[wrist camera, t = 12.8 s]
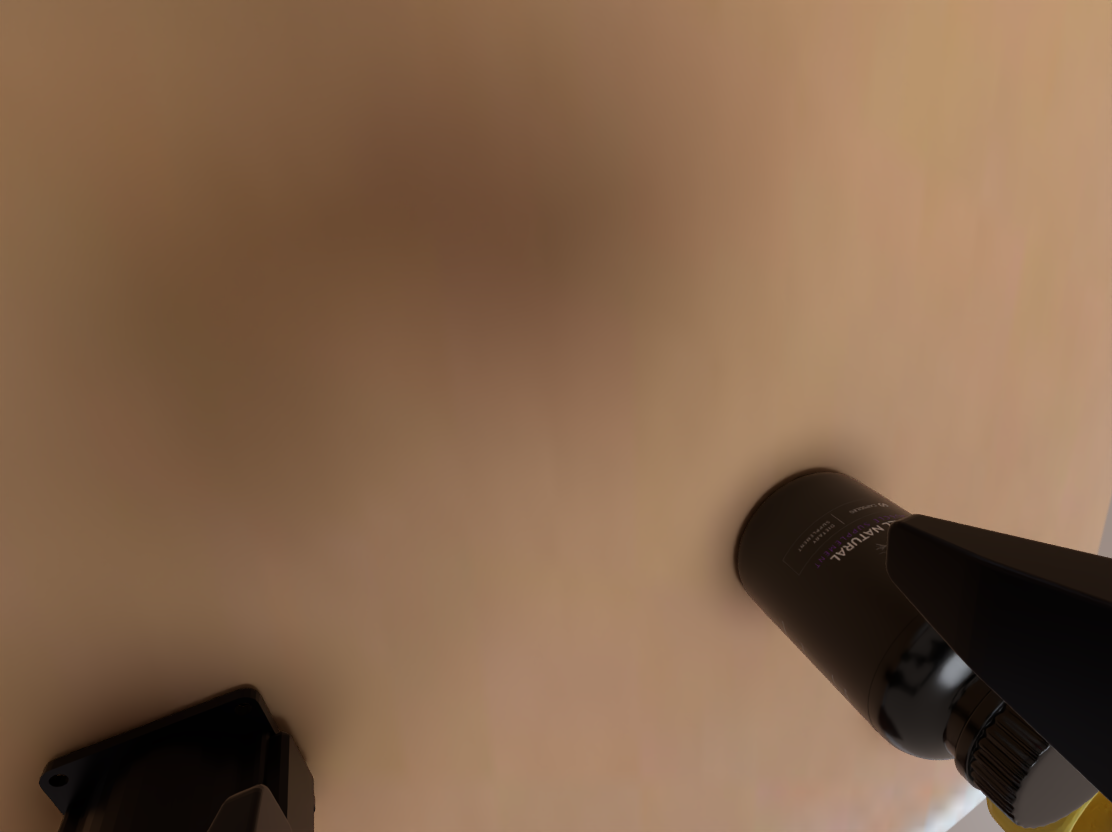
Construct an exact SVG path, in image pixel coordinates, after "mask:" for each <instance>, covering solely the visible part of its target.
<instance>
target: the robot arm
mask: <svg viewBox="0 0 1112 832" xmlns="http://www.w3.org/2000/svg"><path fill="white" fill-rule="evenodd" d="M886 570H887V573H888V575H889V577H890V579H891V580H892V582H893V583H894V584H895V585H896V586H897V588H898V589H899V590H900V591H901V592H902V593H903V594H904V595H905V597H906V598H907V599H908V600H909V601H910V602H911V603H912V604H913V606H914V607H915V608H916V609H917V610H918V611H919V612H920V613H921V615H922V616H923V617H924V618H925V619H926V620H927V621H928V623H929V624H930V625H931V626H932V627H933V628H934V629H935V630H936V632H937V633H938V634H939V635H940V636H941V637H942V638H943V639H944V641H945V642H946V643H947V644H948V645H949V646H950V647H951V649H952V650H953V651H954V652H955V653H956V654H957V655H958V656H959V657H960V658H961V659H962V660H963V662H964V663H965V664H966V665H967V666H968V667H969V668H970V669H971V670H972V671H973V672H974V673H975V674H976V675H977V676H978V677H979V678H980V679H981V680H983V681H984V682H985V683H986V684H987V685H988V686H989V687H990V688H991V689H992V690H993V691H994V692H995V693H996V694H997V695H998V696H999V697H1000V698H1001V699H1003V700H1004V701H1005V702H1006V703H1007V704H1008V705H1009V706H1010V707H1011V708H1012V709H1013V710H1014V711H1015V712H1016V713H1017V714H1018V715H1019V716H1020V717H1022V718H1023V719H1024V720H1025V721H1026V722H1027V723H1028V724H1029V725H1030V726H1031V727H1032V728H1033V729H1034V730H1035V731H1036V732H1037V733H1038V734H1039V735H1041V736H1042V737H1043V738H1044V739H1045V740H1046V741H1047V742H1048V743H1049V744H1050V745H1051V746H1052V747H1053V748H1054V749H1055V750H1056V751H1057V752H1058V753H1059V754H1061V755H1062V756H1063V757H1064V758H1065V759H1066V760H1067V761H1068V762H1069V763H1070V764H1071V765H1072V766H1073V767H1074V768H1075V769H1076V770H1077V771H1078V772H1080V773H1081V774H1082V775H1083V776H1084V777H1085V778H1086V779H1087V780H1088V781H1089V782H1090V783H1091V784H1092V785H1093V786H1094V787H1095V788H1096V789H1097V790H1098V791H1100V792H1101V793H1102V794H1103V795H1104V796H1105V797H1106V798H1107V799H1108V800H1109V801H1110V802H1111V803H1112V558H1108V557H1103V556H1099V555H1095V554H1090V553H1086V552H1082V551H1077V550H1073V549H1069V548H1064V547H1060V546H1056V545H1051V544H1047V543H1042V542H1038V541H1034V540H1029V539H1025V538H1021V537H1016V536H1012V535H1008V534H1003V533H999V532H995V531H990V530H986V529H981V528H977V527H973V526H968V525H964V524H960V523H955V522H951V521H947V520H942V519H938V518H933V517H929V516H925V515H920V514H913V515H909V516H907V517H904V518H902V519H899V520H897V521H895V522H893V523H891V525H890V526H889V528H888V535H887V550H886ZM242 703H247V704H249V705H247V706H239V704H242ZM58 774H62V775H65V776H58ZM39 784H40V787H41V788H42V790H43V791H44V792H45V793H46V794H47V796H48V797H49V798H50V799H51V801H52V802H53V803H54V804H55V805H56V807H57V808H58V809H59V810H60V811H61V813H62V814H63V815H64V817H63V820H62V823H61V825H60V828H59V831H58V832H314V812H315V796H314V781H313V776H312V775H311V773H310V771H309V769H308V767H307V765H306V763H305V761H304V759H303V757H302V756H301V754H300V752H299V750H298V748H297V746H296V744H295V742H294V740H293V738H292V737H291V735H290V734H288V733H286V732H284V731H282V732H280V731H279V729H278V727H277V726H276V724H275V722H274V720H273V718H272V716H271V714H270V712H269V711H268V709H267V707H266V705H265V703H264V701H263V699H262V698H261V696H260V694H259V693H258V692H257V691H256V690H253V689H249V688H244V689H240V690H237V691H234V692H231V693H229V694H226V695H223V696H221V697H218V698H215V699H213V700H210V701H208V702H205V703H202V704H200V705H197V706H194V707H192V708H189V709H186V710H184V711H181V712H179V713H176V714H173V715H171V716H168V717H165V718H163V719H160V720H157V721H155V722H152V723H150V724H147V725H144V726H142V727H139V728H136V729H134V730H131V731H128V732H126V733H123V734H121V735H118V736H115V737H113V738H110V739H107V740H105V741H102V742H99V743H97V744H94V745H92V746H89V747H86V748H84V749H81V750H78V751H76V752H73V753H70V754H68V755H65V756H63V757H60V758H57V759H55V760H53V761H51V762H49V763H48V764H47V765H46V766H45V768H44V770H43V773H42V775H41V777H40V781H39Z"/></svg>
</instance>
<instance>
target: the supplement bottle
mask: <svg viewBox="0 0 1112 832" xmlns="http://www.w3.org/2000/svg"><path fill="white" fill-rule="evenodd" d="M909 515H912V514H911V513H909V512H907V511H906V510H904V509H903V508H901V507H900V506H898V505H896V504H895V503H893V502H892V501H890V500H888V499H887V498H885V497H884V496H882V495H880V494H879V493H877V492H876V491H874V490H872V489H870V488H869V487H867V486H866V485H864V484H862V483H861V482H859V481H857V480H856V479H854V478H851V477H849V476H847V475H844V474H840V473H835V472H818V473H813V474H809V475H805V476H802V477H799V478H797V479H795V480H792V481H791V482H789V483H787V484H785V485H784V486H782V487H781V488H779V489H778V490H776V491H775V492H774V493H773V494H772V495H770V496H769V497H768V498H767V499H766V500H765V501H764V502H763V503H762V504H761V506H760V507H759V508H758V509H757V510H756V512H755V513H754V515H753V516H752V518H751V519H750V521H749V523H748V525H747V526H746V529H745V531H744V533H743V536H742V539H741V542H740V546H739V551H738V571H739V576H740V579H741V582H742V584H743V586H744V588H745V590H746V592H747V593H748V594H749V596H750V597H751V598H752V599H753V600H754V601H755V602H756V604H757V605H758V606H759V607H760V608H761V609H762V610H763V611H764V612H765V614H766V615H767V616H768V617H769V618H770V619H771V620H772V621H773V622H774V623H775V624H776V625H777V626H778V627H779V628H780V629H781V630H782V632H783V633H784V634H785V635H786V636H787V637H788V638H789V639H790V640H791V641H792V642H793V643H794V644H795V645H796V646H797V647H798V648H799V650H800V651H801V652H802V653H803V654H804V655H805V656H806V657H807V658H808V659H809V660H810V661H811V662H812V663H813V664H814V665H815V666H816V668H817V669H818V670H819V671H820V672H821V673H822V674H823V675H824V676H825V677H826V678H827V679H828V680H829V681H830V682H831V683H832V684H833V686H834V687H835V688H836V689H837V690H838V691H839V692H840V693H841V694H842V695H843V696H844V697H845V698H846V699H847V700H848V701H849V702H850V704H851V705H852V706H853V707H854V708H855V709H856V710H857V711H858V712H859V713H860V714H861V715H862V716H863V717H864V718H865V719H866V720H867V721H868V723H869V724H870V725H871V726H872V727H873V728H874V729H875V730H876V731H877V732H878V733H879V734H880V735H881V736H882V737H883V738H884V739H885V740H887V741H888V742H889V743H890V744H891V745H892V746H894V747H895V748H897V749H899V750H901V751H903V752H905V753H907V754H910V755H913V756H916V757H919V758H923V759H929V760H949V759H955V765H956V768H957V770H958V772H959V773H960V774H961V775H962V776H963V777H964V778H965V779H966V780H967V781H968V782H969V783H970V784H971V785H972V786H973V787H975V788H976V789H979V790H981V791H982V793H983V794H984V795H985V796H986V797H987V798H988V799H989V800H991V801H992V802H993V803H994V804H995V805H996V806H997V807H998V808H999V809H1000V810H1001V811H1002V812H1003V813H1004V814H1005V815H1006V816H1007V817H1008V818H1009V819H1010V820H1011V821H1012V822H1013V823H1015V824H1016V825H1018V826H1022V827H1023V828H1025V829H1026V828H1032V829H1035V828H1038V827H1044V826H1046V825H1048V824H1050V823H1055V822H1057V821H1058V820H1060V819H1061V818H1064V817H1066V816H1068V815H1069V814H1070V813H1072V812H1073V811H1075V810H1077V809H1079V808H1080V807H1081V806H1082V805H1083V804H1084V803H1086V802H1087V801H1089V800H1090V799H1092V798H1093V797H1094V795H1095V794H1096V793H1098V792H1099V791H1098V790H1097V789H1096V788H1095V787H1094V786H1093V785H1092V784H1091V783H1090V782H1089V781H1088V780H1087V779H1086V778H1085V777H1084V776H1083V775H1082V774H1081V773H1080V772H1078V771H1077V770H1076V769H1075V768H1074V767H1073V766H1072V765H1071V764H1070V763H1069V762H1068V761H1067V760H1066V759H1065V758H1064V757H1063V756H1062V755H1061V754H1059V753H1058V752H1057V751H1056V750H1055V749H1054V748H1053V747H1052V746H1051V745H1050V744H1049V743H1048V742H1047V741H1046V740H1045V739H1044V738H1043V737H1042V736H1041V735H1039V734H1038V733H1037V732H1036V731H1035V730H1034V729H1033V728H1032V727H1031V726H1030V725H1029V724H1028V723H1027V722H1026V721H1025V720H1024V719H1023V718H1022V717H1020V716H1019V715H1018V714H1017V713H1016V712H1015V711H1014V710H1013V709H1012V708H1011V707H1010V706H1009V705H1008V704H1007V703H1006V702H1005V701H1004V700H1003V699H1001V698H1000V697H999V696H998V695H997V694H996V693H995V692H994V691H993V690H992V689H991V688H990V687H989V686H988V685H987V684H986V683H985V682H984V681H983V680H981V679H980V678H979V677H978V676H977V675H976V674H975V673H974V672H973V671H972V670H971V669H970V668H969V667H968V666H967V665H966V664H965V663H964V662H963V660H962V659H961V658H960V657H959V656H958V655H957V654H956V653H955V652H954V651H953V650H952V649H951V647H950V646H949V645H948V644H947V643H946V642H945V641H944V639H943V638H942V637H941V636H940V635H939V634H938V633H937V632H936V630H935V629H934V628H933V627H932V626H931V625H930V624H929V623H928V621H927V620H926V619H925V618H924V617H923V616H922V615H921V613H920V612H919V611H918V610H917V609H916V608H915V607H914V606H913V604H912V603H911V602H910V601H909V600H908V599H907V598H906V597H905V595H904V594H903V593H902V592H901V591H900V590H899V589H898V588H897V586H896V585H895V584H894V583H893V582H892V580H891V579H890V577H889V575H888V573H887V570H886V550H887V535H888V528H889V526H890V525H891V523H893V522H895V521H897V520H899V519H902V518H904V517H907V516H909Z"/></svg>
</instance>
